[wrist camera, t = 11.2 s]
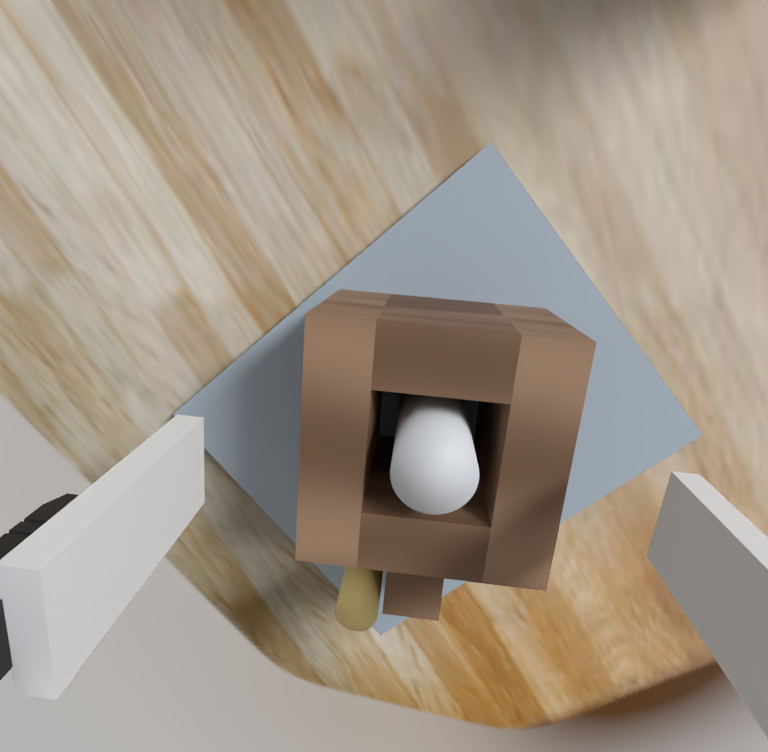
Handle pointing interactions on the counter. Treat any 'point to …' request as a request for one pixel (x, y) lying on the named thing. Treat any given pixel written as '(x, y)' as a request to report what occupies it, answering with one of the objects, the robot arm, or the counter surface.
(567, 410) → the tabbed square frame
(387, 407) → the post board
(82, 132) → the counter surface
